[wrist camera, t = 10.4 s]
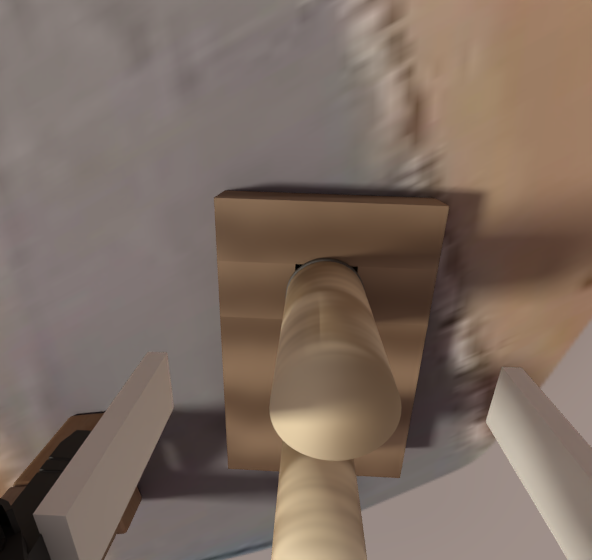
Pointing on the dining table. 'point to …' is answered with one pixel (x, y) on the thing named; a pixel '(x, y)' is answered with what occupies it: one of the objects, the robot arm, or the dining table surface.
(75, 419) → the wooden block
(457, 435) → the dining table surface
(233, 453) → the walnut board
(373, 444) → the beech peg
